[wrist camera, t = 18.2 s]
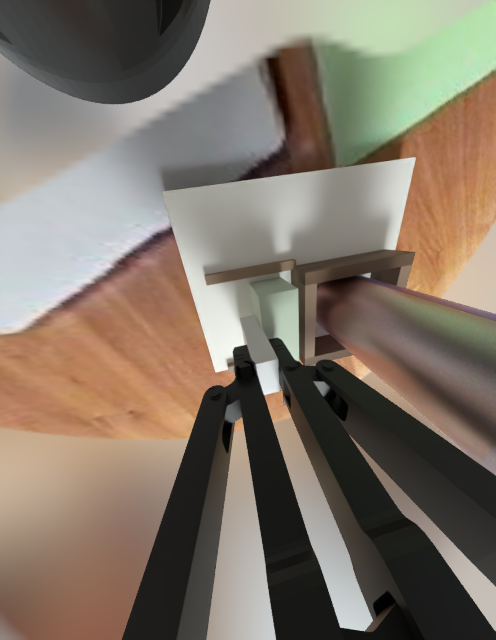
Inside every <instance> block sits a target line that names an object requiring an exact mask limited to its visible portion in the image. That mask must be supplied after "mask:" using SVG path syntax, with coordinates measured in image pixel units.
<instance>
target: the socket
mask: <svg viewBox="0 0 496 640" xmlns="http://www.w3.org/2000/svg"><path fill="white" fill-rule="evenodd" d="M414 255H415V252H408V251H398V250H387V249H383V250H377V251H372V252H367V253H361V254H356V255H350V256H345V257H339V258H334V259H329V260H323V261H318V262H312V263H307V264H301V265H296V267H295V268H294V270H291V284H292V285H293V286H295V287H297V288H298V309H299V359H300V360H301V362H302V363H303V365H305V366H309V365H314V364H316V363H317V362H318V361H319V360H323V359H328V360H335V359H339V358H343V357H347V356H351V355H353V354H352V353H350V352H349V351H348V350H347V349H346V348H345V347H344V346H342V345H341V344H340V343H339V342H338V341H337V340H336V339H334V338H333V337H332V336H331V335H330V334H328V335H324V336H319V337H315V327H316V301H317V283H321V282H326V281H331V280H336V279H341V278H346V277H351V276H357V275H362V274H367V273H371V276H370V278H372V279H375V280H379V281H382V282H386V283H389V284H393V285H396V286H399V287H403V288H406V285H407V281H408V277H409V274H410V270H411V266H412V263H413V259H414Z"/></svg>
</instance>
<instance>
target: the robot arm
mask: <svg viewBox="0 0 496 640" xmlns="http://www.w3.org/2000/svg"><path fill="white" fill-rule="evenodd" d="M209 4H210V0H0V53H1V54H2V55H3V56H5V57H6V58H7V59H8V60H10V61H11V62H12V63H14V64H15V65H17V66H18V67H19V68H21V69H22V70H24V71H25V72H27V73H28V74H30V75H31V76H33V77H34V78H36V79H38V80H40V81H41V82H43V83H45V84H47V85H49V86H51V87H52V88H55V89H57V90H59V91H61V92H63V93H66V94H68V95H71V96H73V97H77V98H79V99H83V100H87V101H91V102H96V103H102V104H124V103H132V102H135V101H139V100H142V99H145V98H147V97H150V96H151V95H153V94H155V93H157V92H158V91H160V90H161V89H163V88H164V87H165V86H166V85H168V84H169V83H170V82H171V81H172V80H173V79H174V78H175V77H176V76H177V75H178V73H179V72H180V71H181V70H182V68H183V67H184V66H185V64H186V62H187V61H188V60H189V58H190V56H191V54H192V52H193V51H194V49H195V47H196V44H197V42H198V40H199V38H200V35H201V32H202V29H203V27H204V23H205V20H206V16H207V13H208V9H209ZM240 323H241V328H242V334H243V339H244V344H245V345H243V346H238V347H234V349H233V358H234V364H235V366H234V372H235V376H236V378H235V380H234V381H233V382H232V383H231V384H230V385H228V386H226V387H223V386H220V385H216V386H213V387H211V388H209V389H208V390H207V391H206V392H205V394H204V396H203V399H202V402H201V405H200V408H199V411H198V414H197V417H196V420H195V423H194V426H193V429H192V432H191V435H190V438H189V441H188V444H187V447H186V450H185V453H184V456H183V459H182V462H181V465H180V468H179V471H178V474H177V477H176V480H175V483H174V486H173V489H172V492H171V495H170V498H169V501H168V504H167V506H166V509H165V513H164V515H163V518H162V521H161V524H160V527H159V531H158V533H157V536H156V539H155V542H154V546H153V548H152V551H151V554H150V557H149V560H148V563H147V566H146V569H145V572H144V575H143V578H142V581H141V584H140V587H139V590H138V593H137V596H136V599H135V602H134V605H133V608H132V611H131V614H130V617H129V620H128V623H127V626H126V629H125V632H124V635H123V637H122V640H206V636H207V629H208V622H209V615H210V607H211V599H212V592H213V584H214V577H215V569H216V561H217V554H218V546H219V538H220V531H221V524H222V516H223V508H224V501H225V492H226V486H227V478H228V470H229V463H230V455H231V447H232V440H233V433H234V425H235V421H237V420H238V419H240V418H241V417H242V418H243V424H244V431H245V437H246V443H247V449H248V456H249V462H250V468H251V474H252V481H253V487H254V494H255V500H256V506H257V512H258V519H259V525H260V531H261V537H262V544H263V550H264V557H265V564H266V574H267V582H268V589H269V596H270V603H271V609H272V616H273V622H274V628H275V634H276V640H496V631H495V630H494V629H493V628H492V626H491V625H490V624H489V622H488V621H487V619H486V618H485V616H484V615H483V614H482V612H481V611H480V609H479V608H478V607H477V605H476V604H475V602H474V601H473V599H472V598H471V597H470V595H469V594H468V592H467V591H466V590H465V588H464V587H463V585H462V584H461V583H460V581H459V580H458V578H457V577H456V576H455V574H454V573H453V571H452V570H451V568H450V567H449V565H448V564H447V563H446V561H445V560H444V559H443V557H442V556H441V554H440V553H439V552H438V550H437V549H436V547H435V546H434V544H433V543H432V542H431V541H430V539H429V538H428V537H427V535H426V534H425V533H424V532H423V531H422V530H421V529H420V528H419V526H418V525H416V524H415V523H414V522H412V521H411V520H409V519H408V518H406V517H405V516H404V515H403V514H402V513H401V511H400V510H399V509H398V508H397V506H396V504H395V503H394V501H393V500H392V499H391V497H390V496H389V494H388V493H387V491H386V490H385V488H384V487H383V485H382V484H381V482H380V481H379V479H378V478H377V476H376V475H375V473H374V472H373V470H372V469H371V467H370V466H369V464H368V463H367V461H366V460H365V458H364V457H363V455H362V454H361V452H360V451H359V449H358V448H357V446H356V445H355V443H354V442H353V440H352V439H351V437H352V438H353V439H354V440H355V441H356V442H357V443H358V444H359V445H360V446H361V447H362V448H363V449H364V450H365V451H366V453H367V454H368V455H369V456H370V457H371V458H372V459H373V460H374V461H375V462H376V463H377V464H378V465H379V466H380V467H381V468H382V469H383V470H384V471H385V472H386V473H387V474H388V476H389V477H390V478H391V479H392V480H393V481H394V482H395V483H396V484H397V485H398V486H399V487H400V488H401V489H402V490H403V491H404V492H405V493H406V494H407V495H408V496H409V497H410V498H411V500H412V501H413V502H414V503H415V504H416V505H417V506H418V507H419V508H420V509H421V510H422V511H423V512H424V513H425V514H426V515H427V516H428V517H429V518H430V519H431V520H432V521H433V523H435V525H436V526H437V527H438V528H439V529H440V530H441V531H442V532H443V533H444V534H445V535H446V536H447V537H448V538H449V539H450V540H451V541H452V542H453V543H454V544H455V545H456V547H457V548H458V549H459V550H460V551H461V552H462V553H463V554H464V555H465V556H466V557H467V558H468V559H469V560H470V561H471V562H472V563H473V564H474V565H475V566H476V567H477V568H478V569H479V570H480V571H481V572H482V573H483V574H484V575H485V576H486V577H487V578H488V579H489V580H490V581H491V582H492V583H493V584H494V585H495V586H496V475H495V474H493V473H492V472H490V471H489V470H487V469H486V468H485V467H483V466H482V465H480V464H479V463H478V462H476V461H475V460H473V459H472V458H470V457H469V456H468V455H466V454H465V453H463V452H462V451H461V450H459V449H458V448H456V447H455V446H453V445H452V444H451V443H449V442H448V441H446V440H445V439H444V438H442V437H440V436H439V435H438V434H436V433H435V432H434V431H432V430H431V429H429V428H428V427H427V426H425V425H424V424H422V423H421V422H419V421H418V420H416V419H415V418H414V417H412V416H411V415H410V414H408V413H407V412H405V411H404V410H402V409H401V408H400V407H398V406H397V405H395V404H394V403H393V402H391V401H390V400H388V399H387V398H385V397H384V396H383V395H381V394H380V393H378V392H377V391H376V390H374V389H373V388H371V387H370V386H368V385H367V384H366V383H364V382H363V381H361V380H360V379H359V378H357V377H356V376H354V375H353V374H351V373H350V372H349V371H347V370H346V369H344V368H343V367H342V366H340V365H339V364H337V363H336V362H334V361H332V360H328V359H323V360H319V361H318V362H317V363H316V366H305V365H302V364H301V363H300V362H299V361H297V360H295V359H294V358H293V356H292V355H291V353H290V352H289V350H288V348H287V347H286V345H285V344H284V342H283V341H282V340H281V339H279V338H278V337H277V338H272V339H268V338H267V336H266V335H265V333H264V331H263V329H262V327H261V325H260V323H259V321H258V319H257V317H256V315H252V316H247V317H242V318H240ZM280 386H281V388H282V391H283V402H284V406H285V405H287V407H288V410H289V412H290V414H291V417H292V419H293V421H294V424H295V426H296V428H297V431H298V433H299V435H300V438H301V440H302V443H303V445H304V447H305V450H306V452H307V455H308V457H309V459H310V461H311V464H312V466H313V469H314V471H315V473H316V476H317V478H318V481H319V483H320V485H321V488H322V490H323V492H324V495H325V497H326V499H327V502H328V504H329V507H330V509H331V511H332V514H333V516H334V518H335V520H336V523H337V525H338V528H339V530H340V533H341V535H342V537H343V540H344V542H345V544H346V547H347V549H348V552H349V555H350V558H351V561H352V565H353V570H354V573H355V576H356V579H357V581H358V584H359V587H360V589H361V592H362V594H363V597H364V599H365V601H366V604H367V606H368V609H369V611H370V614H371V616H372V618H373V622H372V623H371V624H370V625H369V627H368V628H367V629H366V630H365V631H358V630H351V629H345V628H340V626H339V623H338V620H337V616H336V613H335V611H334V607H333V604H332V601H331V598H330V595H329V592H328V588H327V585H326V582H325V579H324V576H323V573H322V570H321V567H320V565H319V562H318V560H317V557H316V555H315V553H314V551H313V548H312V546H311V543H310V540H309V537H308V534H307V531H306V528H305V524H304V521H303V518H302V515H301V511H300V508H299V506H298V502H297V499H296V495H295V492H294V489H293V486H292V483H291V480H290V476H289V473H288V470H287V467H286V464H285V461H284V457H283V454H282V451H281V448H280V445H279V441H278V438H277V435H276V432H275V429H274V426H273V422H272V419H271V416H270V413H269V410H268V406H267V403H266V400H265V397H264V395H266V394H270V393H274V392H278V391H281V388H280ZM349 435H350V436H351V437H350V436H349Z"/></svg>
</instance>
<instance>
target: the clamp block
mask: <svg viewBox="0 0 496 640" xmlns="http://www.w3.org/2000/svg"><path fill="white" fill-rule="evenodd" d="M249 288H250V295H251V302H252V309H253V315H256V317H257V319H258V321H259V323H260V325H261V327H262V329H263V331H264V333H265V335H266V336H267V338H268V339H272V338H277V337H278V338H279V339H281V340H282V341H283V342H284V344H285V345H286V347H287V348H288V350H289V352H290V353H291V355H292V356H293V358H294V359H295V360H297V361H299V309H298V288H297V287H295V286H293V285H292V284H290V283H289V282H287V281H286V280H284V279H283V278H281V277H276V278H271V279H266V280H260V281H255V282H250V283H249Z"/></svg>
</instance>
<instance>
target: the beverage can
mask: <svg viewBox="0 0 496 640" xmlns="http://www.w3.org/2000/svg"><path fill="white" fill-rule="evenodd" d="M316 323H317V324H318V325H320V326H321V327H322V328H323V329H324V330H325V331H326V332H328V333H329V334H330V335H331V336H332V337H333V338H334V339H336V340H337V341H338V342H339V343H340V344H341V345H342V346H344V347H345V348H346V349H347V350H348V351H349V352H350V353H352V354H353V355H354V356H355V357H356V358H357V359H358V360H360V361H361V362H362V363H363V364H364V365H365V366H366V367H367V368H369V369H370V370H371V371H372V372H373V373H375V374H376V375H377V376H378V377H379V378H380V379H381V380H383V382H385V383H386V384H387V385H388V386H389V387H390V388H392V389H393V390H394V391H395V392H396V393H397V394H399V395H400V396H401V397H402V398H403V399H404V400H405V401H406V402H408V403H409V404H410V405H411V406H412V407H413V408H414V409H416V410H417V411H418V412H419V413H420V414H421V415H422V416H423V417H425V418H426V419H427V420H428V421H429V422H430V423H431V424H433V425H434V426H435V427H436V428H437V429H438V430H439V431H441V432H442V433H443V434H444V435H445V436H446V437H448V438H449V439H450V440H451V441H452V442H453V443H454V444H455V445H457V446H458V447H459V448H460V449H461V450H462V451H464V452H465V453H466V454H467V455H468V456H469V457H470V458H472V459H473V460H475V461H476V462H478V463H479V464H480V465H482V466H483V467H485V468H486V469H487V470H489V471H490V472H492V473H493V474H495V475H496V314H493V313H490V312H486V311H483V310H479V309H476V308H473V307H469V306H466V305H462V304H458V303H455V302H452V301H448V300H445V299H441V298H438V297H434V296H431V295H427V294H424V293H420V292H417V291H413V290H410V289H406V288H403V287H399V286H396V285H393V284H389V283H386V282H382V281H379V280H375V279H372V278H368V277H365V276H361V275H357V276H351V277H346V278H341V279H336V280H331V281H326V282H323V283H322V284H320V286H319V287H318V288H317V301H316Z"/></svg>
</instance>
